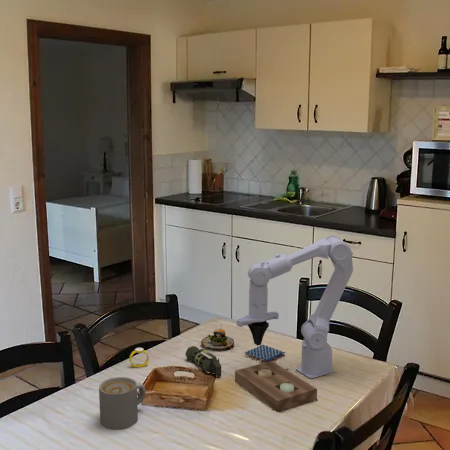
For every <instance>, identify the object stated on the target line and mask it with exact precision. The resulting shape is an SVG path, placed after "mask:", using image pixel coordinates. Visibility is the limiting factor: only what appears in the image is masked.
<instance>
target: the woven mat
mask: <svg viewBox="0 0 450 450" xmlns="http://www.w3.org/2000/svg"><path fill="white" fill-rule="evenodd" d="M285 353H286V352H285V351H282V350H279V349H277V348H274V347H272V346H268V345H266V344H261V345H258V346H257V347H254V348H251V350H248V351H245V352H244V356H245V357H246V358H249V359H251V360H254V361H257V362H260V363H261V364H262V363H266V362H270V361H273V362H275V361H276V360H279V359H280V358H283V357H285V356H286V354H285Z"/></svg>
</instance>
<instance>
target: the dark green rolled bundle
mask: <svg viewBox="0 0 450 450" xmlns="http://www.w3.org/2000/svg"><path fill="white" fill-rule="evenodd" d="M184 354H185V357H186V359H187V360H188V361H189V362H195V364H197V365H199V366H200V367H202V369H203V370H204V372H205V371H207V372H210V373H214V374H213V375H215V376H217V378H221V377H222V365H221V363H220V358H217V356H216V355H214V354H213V353H211V352H209V351H207V350H206V349H204V348H200V349H199V348H198V347H197V346H195V345H193V346H190V347H187V349H186V352H185V353H184Z"/></svg>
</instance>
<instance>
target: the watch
mask: <svg viewBox="0 0 450 450" xmlns="http://www.w3.org/2000/svg"><path fill="white" fill-rule="evenodd" d="M136 353H137V354H138V353H139V354H141V353H144V354H145V355H146V360H145V362H143V363H141V364H135V363H133V362H132V358H133V356H134V354H136ZM149 360H150V359H149V354H148V352H147V351H146V350H144V348H143V347H136V348H135V349H134V350H132V352H131V353H130V354H129V362H130V364H131V366H132V367H133V368H144V367H146V365H147V364H148V362H149Z"/></svg>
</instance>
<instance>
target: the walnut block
mask: <svg viewBox="0 0 450 450" xmlns="http://www.w3.org/2000/svg"><path fill="white" fill-rule="evenodd" d="M261 369H268V370H270V371H271V372H272V373H271V376H269V377H266V378H262V377H260V376H259V375H258V371H259V370H261ZM234 382H235V383H236V384H238V385H239V386H241V387H242V388H243V389H244V390H245V391H247V392H249V393H250V394H251V395H252V396H254V397H256V398H257V399H258V400H260V401H261V402H262V403H264V404H265V405H266V406H267V407H269V408H271V409H272V410H273V411H274V412H275V413H280V412H284V411H286V410H287V411H288V410H290V409H294V408H297V407H299V406H303V405H307V404H308V403H312V402H314V401H317V400H318V388H316V387H315V386H313V385H311V384H310V383H309V382H307V381H305V380H304V379H302V378H300V377H299V376H297V375H296V374H294V373H293V372H291V371H289V370H287V369H286V368H284V367H283V366H281V365H279V364H278V363H276V362H275V361H270V362H266V363H262V362H261V363H260V364H259V363H258V364H255V365H252V366H248V367H244V368H240V369H237V370H234ZM283 383H290V384H292V385H294V391H292V392H288V393H284V392H282V391H281V390H280V385H281V384H283Z"/></svg>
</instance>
